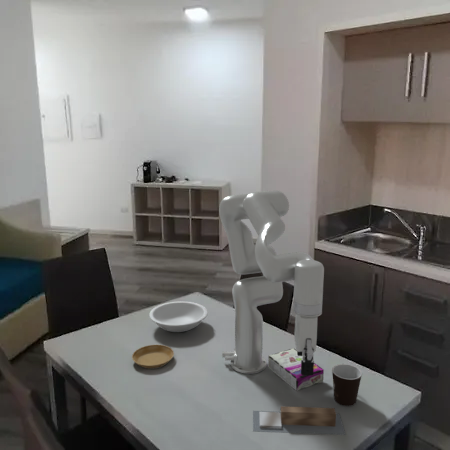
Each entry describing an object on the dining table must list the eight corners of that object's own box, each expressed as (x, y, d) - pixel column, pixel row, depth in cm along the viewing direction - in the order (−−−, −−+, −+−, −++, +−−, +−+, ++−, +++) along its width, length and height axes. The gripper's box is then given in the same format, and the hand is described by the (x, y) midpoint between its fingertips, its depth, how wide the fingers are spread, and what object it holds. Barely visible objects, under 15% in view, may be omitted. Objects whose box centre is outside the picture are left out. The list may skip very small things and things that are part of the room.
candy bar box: (323, 383, 147) (293, 359, 161) (324, 369, 146) (294, 347, 160) (295, 392, 142) (267, 367, 156) (296, 378, 141) (267, 354, 155)
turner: (259, 427, 125) (259, 415, 124) (259, 414, 131) (259, 401, 130) (336, 430, 123) (337, 417, 123) (332, 416, 129) (333, 404, 128)
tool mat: (253, 432, 123) (253, 431, 123) (253, 412, 132) (253, 410, 132) (345, 436, 122) (345, 434, 122) (339, 415, 131) (339, 413, 131)
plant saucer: (132, 374, 152) (132, 367, 152) (131, 353, 166) (131, 346, 166) (176, 369, 156) (176, 362, 155) (171, 348, 170) (171, 342, 169)
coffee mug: (354, 413, 132) (357, 382, 129) (326, 403, 136) (328, 374, 134) (365, 393, 141) (367, 364, 139) (338, 385, 146) (340, 357, 143)
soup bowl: (159, 313, 200) (158, 299, 199) (212, 316, 197) (212, 302, 195) (142, 338, 177) (141, 323, 176) (202, 342, 174) (201, 327, 172)
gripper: (290, 293, 128) (288, 348, 132) (296, 320, 111) (293, 382, 115) (317, 294, 127) (314, 349, 131) (327, 321, 111) (323, 383, 115)
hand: (304, 364), depth 123 cm, fingers open, 9 cm apart
